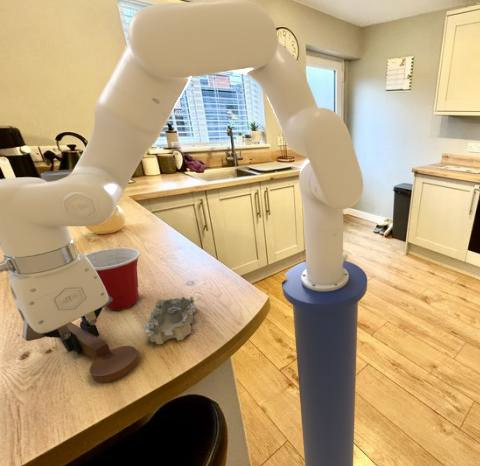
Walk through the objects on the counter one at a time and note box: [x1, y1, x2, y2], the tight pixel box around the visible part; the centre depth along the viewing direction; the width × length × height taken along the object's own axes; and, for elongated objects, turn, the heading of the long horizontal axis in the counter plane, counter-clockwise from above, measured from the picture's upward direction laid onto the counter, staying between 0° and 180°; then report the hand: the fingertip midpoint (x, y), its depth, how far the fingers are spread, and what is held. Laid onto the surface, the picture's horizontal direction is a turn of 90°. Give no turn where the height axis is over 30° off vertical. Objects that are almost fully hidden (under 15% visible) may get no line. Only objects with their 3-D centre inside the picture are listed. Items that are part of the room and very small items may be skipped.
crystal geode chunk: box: [143, 296, 196, 345], centre depth 58 cm, size 11×8×4 cm
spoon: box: [66, 321, 141, 384], centre depth 51 cm, size 20×6×3 cm, turn 64°
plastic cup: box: [85, 247, 141, 311], centre depth 63 cm, size 11×11×12 cm
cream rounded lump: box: [84, 205, 127, 235], centre depth 101 cm, size 12×12×11 cm
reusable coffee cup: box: [40, 169, 74, 182], centre depth 126 cm, size 13×13×15 cm
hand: (84, 345), depth 53 cm, fingers closed on spoon
